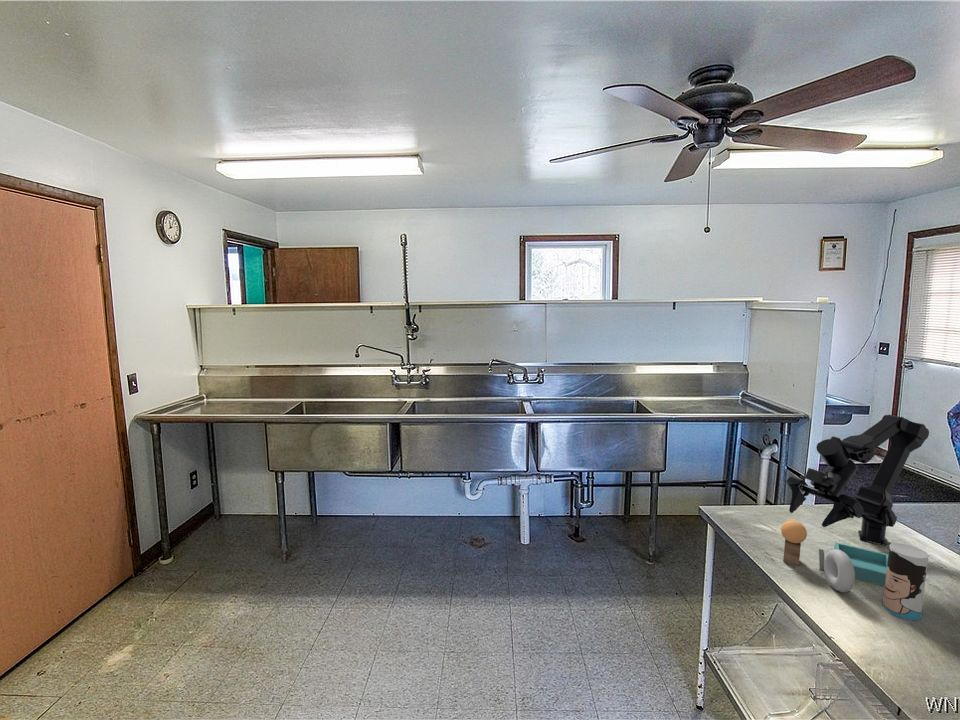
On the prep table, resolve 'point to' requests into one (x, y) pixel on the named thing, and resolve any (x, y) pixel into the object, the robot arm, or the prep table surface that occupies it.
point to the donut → (839, 570)
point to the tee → (792, 552)
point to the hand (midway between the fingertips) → (806, 518)
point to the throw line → (821, 559)
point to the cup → (905, 581)
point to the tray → (866, 563)
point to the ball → (793, 531)
